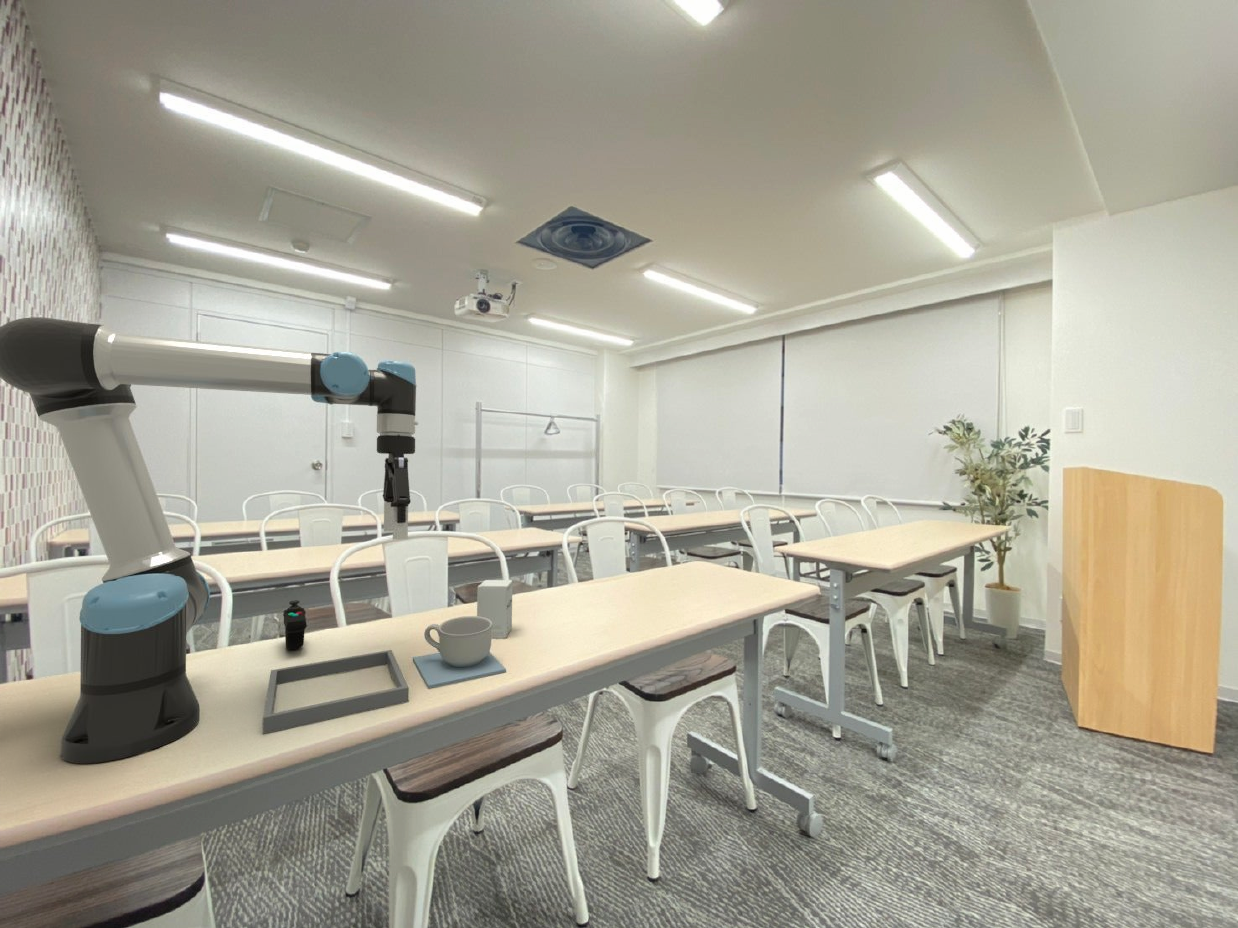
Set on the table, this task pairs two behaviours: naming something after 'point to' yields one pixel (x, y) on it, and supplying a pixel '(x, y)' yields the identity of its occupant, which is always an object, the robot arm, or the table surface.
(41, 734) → the table surface
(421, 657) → the mat
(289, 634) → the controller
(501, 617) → the supplement box
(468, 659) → the teacup
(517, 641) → the table surface
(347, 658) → the gray rectangular frame
